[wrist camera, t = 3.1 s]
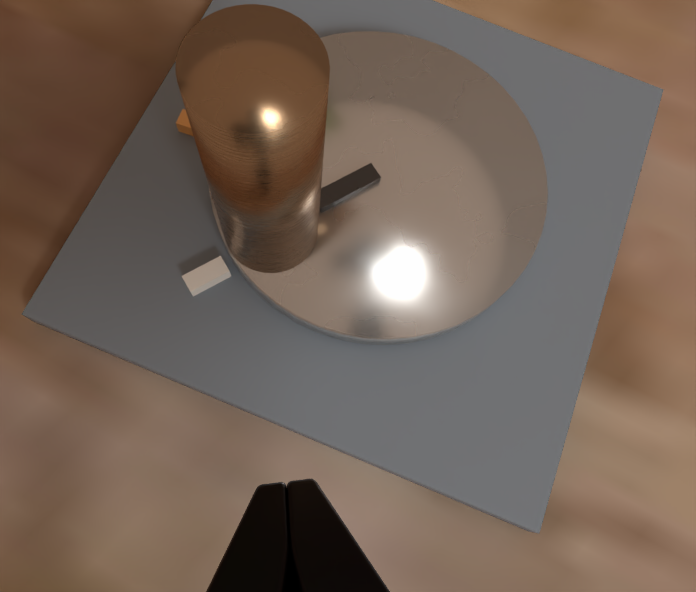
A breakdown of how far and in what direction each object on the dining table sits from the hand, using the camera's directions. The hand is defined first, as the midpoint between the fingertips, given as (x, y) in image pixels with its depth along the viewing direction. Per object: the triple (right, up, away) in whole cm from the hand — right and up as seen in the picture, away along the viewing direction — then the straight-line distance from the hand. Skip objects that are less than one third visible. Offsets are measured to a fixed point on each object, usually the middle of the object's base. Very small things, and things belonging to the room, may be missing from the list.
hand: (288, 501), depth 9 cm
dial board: (+2, +7, +16) cm, 18 cm away
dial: (+2, +7, +15) cm, 17 cm away
